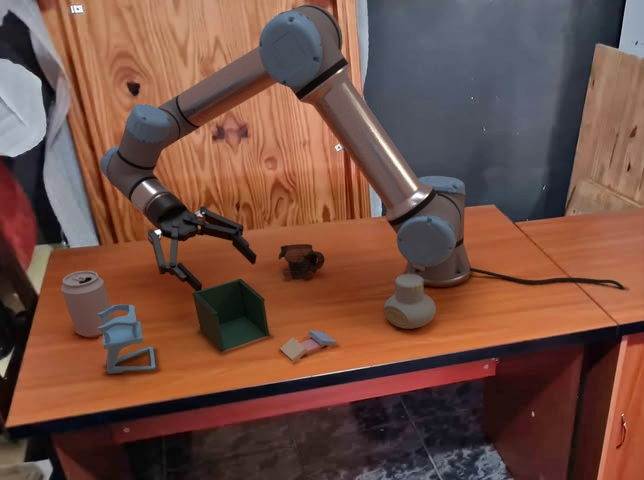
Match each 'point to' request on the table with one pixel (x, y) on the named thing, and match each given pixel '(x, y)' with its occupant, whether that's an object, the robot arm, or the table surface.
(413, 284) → the air freshener
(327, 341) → the blue packet
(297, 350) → the block
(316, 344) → the block
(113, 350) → the chair
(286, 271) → the pottery mug
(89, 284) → the can
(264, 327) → the open box
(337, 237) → the table surface
